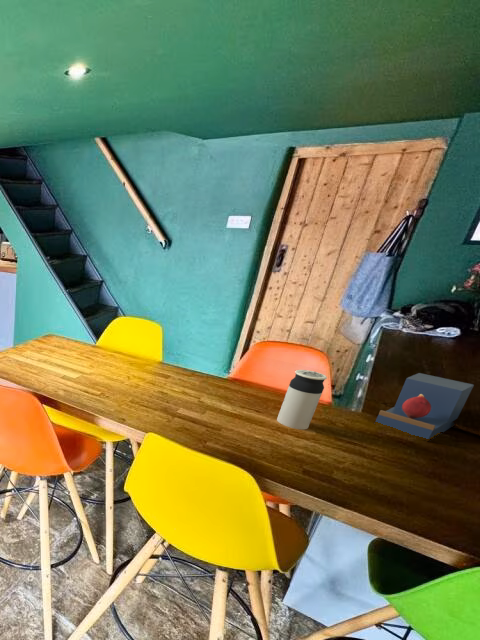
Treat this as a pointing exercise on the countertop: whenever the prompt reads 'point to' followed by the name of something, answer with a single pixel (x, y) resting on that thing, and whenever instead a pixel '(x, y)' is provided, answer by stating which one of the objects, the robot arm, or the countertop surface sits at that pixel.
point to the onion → (416, 407)
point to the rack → (441, 396)
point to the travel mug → (301, 399)
